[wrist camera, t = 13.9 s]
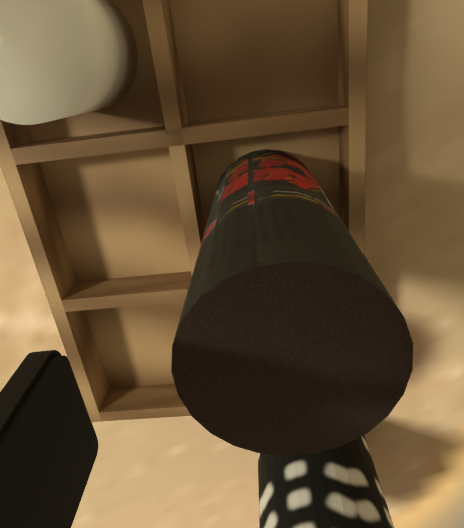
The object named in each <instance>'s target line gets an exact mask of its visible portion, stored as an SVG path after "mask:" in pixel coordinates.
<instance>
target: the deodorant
mask: <svg viewBox="0 0 464 528" xmlns="http://www.w3.org/2000/svg"><path fill="white" fill-rule="evenodd" d="M412 364H413V342H412V339H411V336H410V333H409V330H408V327H407V324H406V321H405V318H404V317H403V315H402V313H401V312H400V310H399V309H398V307H397V306H396V304H395V303H394V301H393V299H392V298H391V296H390V295H389V293H388V292H387V290H386V289H385V287H384V286H383V284H382V282H381V281H380V279H379V278H378V276H377V275H376V273H375V272H374V270H373V268H372V267H371V265H370V264H369V262H368V261H367V259H366V258H365V256H364V254H363V253H362V251H361V250H360V248H359V247H358V245H357V244H356V242H355V240H354V239H353V237H352V236H351V234H350V233H349V231H348V230H347V228H346V226H345V225H344V223H343V222H342V220H341V219H340V217H339V216H338V214H337V212H336V211H335V209H334V208H333V206H332V205H331V203H330V202H329V200H328V198H327V197H326V195H325V194H324V192H323V191H322V189H321V188H320V186H319V184H318V183H317V181H316V180H315V178H314V177H313V175H312V174H311V172H310V171H309V170H308V168H307V167H306V166H305V164H304V163H302V162H301V161H300V160H298V159H297V158H296V157H294V156H293V155H291V154H288V153H285V152H283V151H280V150H270V149H264V150H258V151H252V152H250V153H248V154H245V155H243V156H241V157H239V158H238V159H237V160H236V161H234V162H233V163H232V164H231V165H230V166H228V168H227V169H226V171H225V172H224V174H223V175H222V176H221V178H220V181H219V184H218V187H217V189H216V193H215V196H214V200H213V203H212V207H211V210H210V214H209V218H208V221H207V225H206V228H205V232H204V235H203V239H202V242H201V246H200V249H199V253H198V256H197V260H196V263H195V267H194V270H193V274H192V278H191V281H190V285H189V288H188V292H187V295H186V299H185V302H184V306H183V309H182V313H181V316H180V320H179V323H178V327H177V331H176V334H175V338H174V341H173V345H172V364H171V372H172V376H173V379H174V383H175V386H176V390H177V393H178V396H179V397H180V399H181V401H182V402H183V404H184V405H185V407H186V408H187V410H188V411H189V413H190V414H191V416H192V417H193V418H194V419H195V420H197V421H198V422H199V423H200V424H201V425H202V426H203V427H204V428H206V429H207V430H208V431H209V432H210V433H212V434H213V435H215V436H217V437H219V438H221V439H223V440H224V441H226V442H228V443H230V444H232V445H234V446H237V447H240V448H243V449H247V450H250V451H254V452H257V453H261V454H272V455H282V456H293V455H304V454H315V453H319V452H322V451H326V450H329V449H333V448H336V447H340V446H343V445H345V444H347V443H349V442H351V441H353V440H355V439H357V438H359V437H360V436H362V435H364V434H366V433H368V432H369V431H370V430H372V429H373V428H374V427H375V426H376V425H377V424H379V423H380V422H381V421H382V420H383V419H385V418H386V417H387V416H388V415H389V414H390V412H391V411H392V410H393V408H394V407H395V405H396V404H397V403H398V401H399V400H400V398H401V397H402V396H403V394H404V392H405V389H406V386H407V383H408V380H409V378H410V375H411V372H412Z"/></svg>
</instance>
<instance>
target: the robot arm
mask: <svg viewBox="0 0 464 528" xmlns="http://www.w3.org/2000/svg"><path fill="white" fill-rule="evenodd" d="M97 451H98V440H97V436H96V434H95V431H94V428H93V425H92V423H91V420H90V417H89V414H88V411H87V409H86V406H85V403H84V400H83V398H82V395H81V392H80V389H79V387H78V384H77V381H76V378H75V376H74V373H73V370H72V367H71V365H70V362H69V360H68V358H67V357H66V356H61V354H60V353H59V352H58V351H56V350H51V351H41V352H32V353H29V354H28V355H27V356H26V358H25V359H24V360H23V362H22V363H21V365H20V366H19V367H18V369H17V370H16V371H15V373H14V374H13V376H12V377H11V378H10V380H9V381H8V382H7V384H6V385H5V387H4V388H3V389H2V391H1V392H0V528H71V526H72V523H73V520H74V517H75V515H76V512H77V509H78V506H79V503H80V501H81V498H82V495H83V492H84V489H85V487H86V484H87V481H88V478H89V475H90V473H91V470H92V467H93V464H94V461H95V459H96V456H97Z"/></svg>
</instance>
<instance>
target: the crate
mask: <svg viewBox="0 0 464 528" xmlns="http://www.w3.org/2000/svg"><path fill="white" fill-rule="evenodd" d="M110 1H112V2H113V3H114V4H115V5H116V6H117V7H118V8H119V10H120V11H121V12H122V13H123V15H124V16H125V18H126V19H127V21H128V23H129V25H130V27H131V29H132V32H133V34H134V37H135V41H136V46H137V60H138V61H137V70H136V74H135V77H134V80H133V83H132V85H131V87H130V89H129V90H128V91H127V93H126V94H125V95H124V96H123V97H122V98H121V100H119V101H118V102H117V103H115V104H114V105H112V106H110V107H107V108H105V109H101V110H97V111H92V112H88V113H84V114H79V115H75V116H71V117H66V118H62V119H58V120H53V121H49V122H45V123H40V124H34V125H21V124H13V123H9V122H5V121H2V120H0V166H1V168H2V171H3V174H4V177H5V180H6V183H7V186H8V188H9V191H10V194H11V197H12V200H13V203H14V205H15V208H16V211H17V214H18V217H19V220H20V223H21V225H22V228H23V231H24V234H25V237H26V240H27V243H28V245H29V248H30V251H31V254H32V257H33V260H34V262H35V265H36V268H37V271H38V274H39V277H40V280H41V282H42V285H43V288H44V291H45V294H46V297H47V299H48V302H49V305H50V308H51V311H52V314H53V317H54V319H55V322H56V325H57V328H58V331H59V334H60V337H61V339H62V342H63V345H64V348H65V351H66V354H67V356H68V359H69V362H70V365H71V367H72V370H73V373H74V376H75V378H76V381H77V384H78V387H79V389H80V392H81V395H82V398H83V400H84V403H85V406H86V409H87V411H88V414H89V417H90V420H91V422H97V421H113V420H128V419H144V418H160V417H176V416H191V414H190V413H189V411H188V410H187V408H186V407H185V405H184V404H183V402H182V401H181V399H180V397H179V396H178V393H177V390H176V386H175V383H174V379H173V376H172V372H171V364H172V345H173V341H174V338H175V334H176V331H177V327H178V323H179V320H180V316H181V313H182V309H183V306H184V302H185V299H186V295H187V292H188V288H189V285H190V281H191V278H192V274H193V270H194V267H195V263H196V260H197V256H198V253H199V249H200V246H201V242H202V239H203V235H204V232H205V228H206V225H207V221H208V218H209V214H210V210H211V207H212V203H213V200H214V196H215V193H216V189H217V187H218V184H219V181H220V178H221V176H222V175H223V174H224V172H225V171H226V169H227V168H228V166H230V165H231V164H232V163H233V162H234V161H236V160H237V159H238V158H239V157H241V156H243V155H245V154H248V153H250V152H252V151H258V150H264V149H270V150H280V151H283V152H285V153H288V154H291V155H293V156H294V157H296V158H297V159H298V160H300V161H301V162H302V163H304V164H305V166H306V167H307V168H308V170H309V171H310V172H311V174H312V175H313V177H314V178H315V180H316V181H317V183H318V184H319V186H320V188H321V189H322V191H323V192H324V194H325V195H326V197H327V198H328V200H329V202H330V203H331V205H332V206H333V208H334V209H335V211H336V212H337V214H338V216H339V217H340V219H341V220H342V222H343V223H344V225H345V226H346V228H347V230H348V231H349V233H350V234H351V236H352V237H353V239H354V240H355V242H356V244H357V245H358V247H359V248H360V250H361V251H362V253H363V254H364V221H365V152H366V83H367V15H368V0H110Z"/></svg>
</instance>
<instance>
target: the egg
mask: <svg viewBox="0 0 464 528" xmlns="http://www.w3.org/2000/svg"><path fill="white" fill-rule="evenodd" d="M137 61H138V60H137V46H136V41H135V37H134V34H133V32H132V29H131V27H130V25H129V23H128V21H127V19H126V18H125V16H124V15H123V13H122V12H121V11H120V10H119V8H118V7H117V6H116V5H115V4H114V3H113V2H112V1H110V0H0V120H2V121H5V122H9V123H13V124H21V125H34V124H40V123H45V122H49V121H53V120H58V119H62V118H66V117H71V116H75V115H79V114H84V113H88V112H92V111H97V110H101V109H105V108H107V107H110V106H112V105H114V104H115V103H117V102H118V101H119V100H121V98H122V97H123V96H124V95H125V94H126V93H127V91H128V90H129V89H130V87H131V85H132V83H133V80H134V77H135V74H136V70H137Z"/></svg>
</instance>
